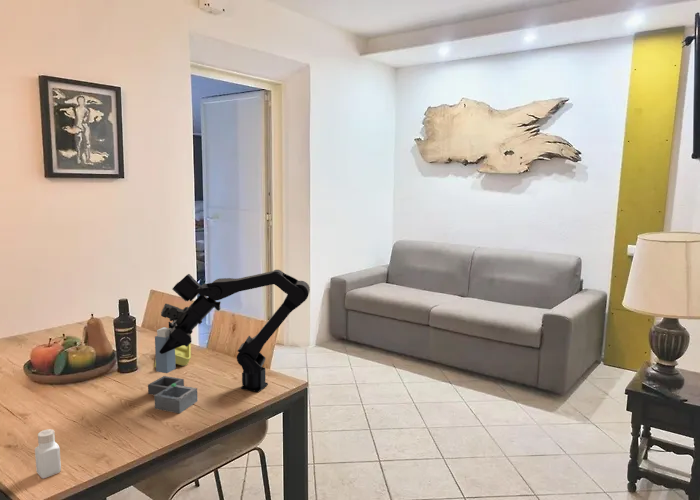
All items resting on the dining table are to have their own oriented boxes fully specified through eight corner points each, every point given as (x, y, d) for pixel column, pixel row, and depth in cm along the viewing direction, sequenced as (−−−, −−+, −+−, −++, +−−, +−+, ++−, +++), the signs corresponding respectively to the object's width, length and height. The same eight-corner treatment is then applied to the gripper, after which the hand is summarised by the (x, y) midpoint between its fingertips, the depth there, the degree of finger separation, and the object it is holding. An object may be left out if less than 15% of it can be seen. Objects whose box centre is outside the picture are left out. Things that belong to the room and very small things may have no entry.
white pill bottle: (41, 480, 108) (38, 439, 107) (35, 473, 111) (32, 432, 110) (62, 472, 111) (59, 432, 110) (55, 465, 114) (52, 426, 113)
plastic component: (190, 360, 175) (163, 350, 172) (181, 378, 176) (153, 369, 172) (190, 338, 194) (165, 329, 190) (182, 355, 194) (157, 347, 191)
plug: (175, 368, 155) (174, 328, 153) (167, 373, 151) (165, 331, 149) (164, 367, 156) (163, 326, 154) (156, 371, 152) (154, 330, 151)
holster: (183, 388, 157) (183, 379, 157) (168, 397, 150) (168, 388, 150) (164, 384, 159) (163, 375, 159) (148, 394, 152) (147, 384, 152)
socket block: (197, 401, 148) (197, 387, 147) (179, 413, 140) (179, 398, 140) (173, 397, 151) (173, 383, 150) (154, 408, 143) (154, 394, 142)
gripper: (175, 288, 160) (140, 325, 158) (178, 302, 143) (138, 343, 141) (202, 310, 164) (167, 346, 162) (207, 326, 147) (168, 366, 145)
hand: (160, 349), depth 152 cm, fingers closed on plug, 6 cm apart
